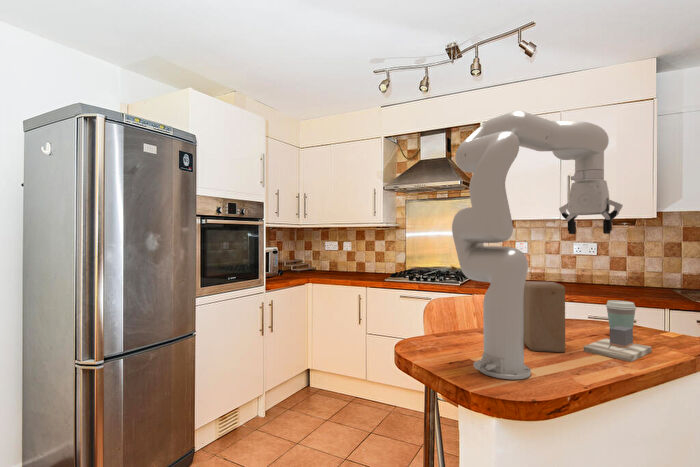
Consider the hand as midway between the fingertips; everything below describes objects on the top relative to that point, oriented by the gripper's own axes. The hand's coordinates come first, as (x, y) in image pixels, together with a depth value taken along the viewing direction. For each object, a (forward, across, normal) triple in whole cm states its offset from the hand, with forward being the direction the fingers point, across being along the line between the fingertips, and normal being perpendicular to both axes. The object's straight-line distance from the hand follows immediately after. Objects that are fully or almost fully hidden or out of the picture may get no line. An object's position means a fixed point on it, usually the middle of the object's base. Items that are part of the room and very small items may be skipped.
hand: (588, 233), depth 116 cm
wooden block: (+36, -9, -8) cm, 38 cm away
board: (+35, +6, +6) cm, 36 cm away
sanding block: (+33, +6, +9) cm, 35 cm away
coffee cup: (+35, 0, +26) cm, 43 cm away
